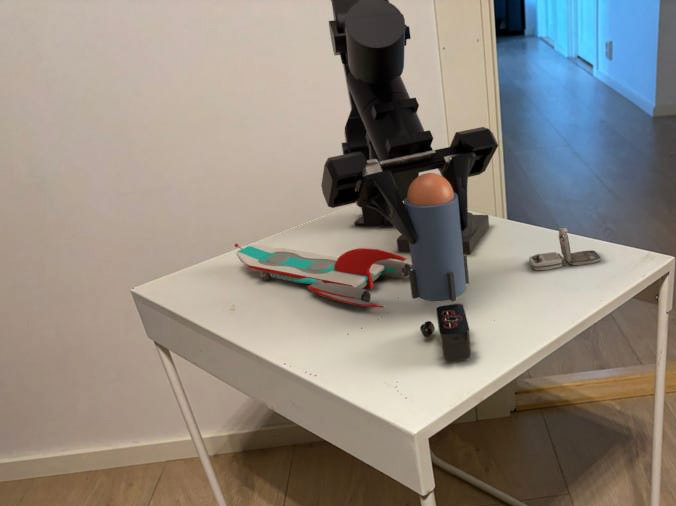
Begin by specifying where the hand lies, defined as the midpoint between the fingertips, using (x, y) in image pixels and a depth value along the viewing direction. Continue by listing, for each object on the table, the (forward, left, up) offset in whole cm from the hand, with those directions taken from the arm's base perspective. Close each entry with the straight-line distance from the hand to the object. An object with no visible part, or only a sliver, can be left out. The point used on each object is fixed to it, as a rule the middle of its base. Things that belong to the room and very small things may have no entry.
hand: (440, 235), depth 74 cm
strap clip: (-14, +11, -9) cm, 20 cm away
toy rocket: (-1, -1, -7) cm, 7 cm away
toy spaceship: (-6, -19, -9) cm, 22 cm away
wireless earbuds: (+7, +2, -9) cm, 12 cm away
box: (-21, -7, -9) cm, 24 cm away
